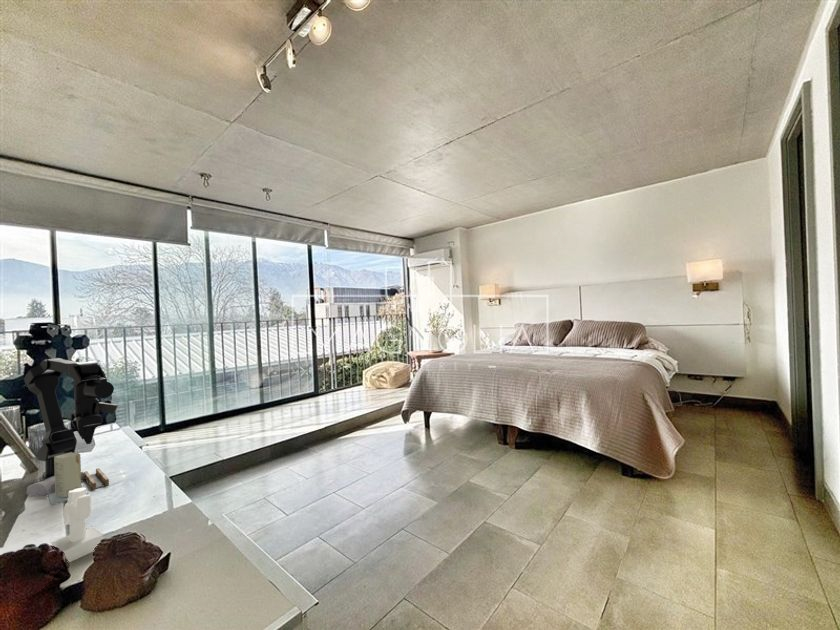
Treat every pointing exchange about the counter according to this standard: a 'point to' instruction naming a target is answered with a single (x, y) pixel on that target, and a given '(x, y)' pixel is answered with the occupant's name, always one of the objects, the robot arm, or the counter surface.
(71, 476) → the skincare box
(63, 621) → the counter surface
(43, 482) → the stone block
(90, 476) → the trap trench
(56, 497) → the pad
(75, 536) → the figurine
